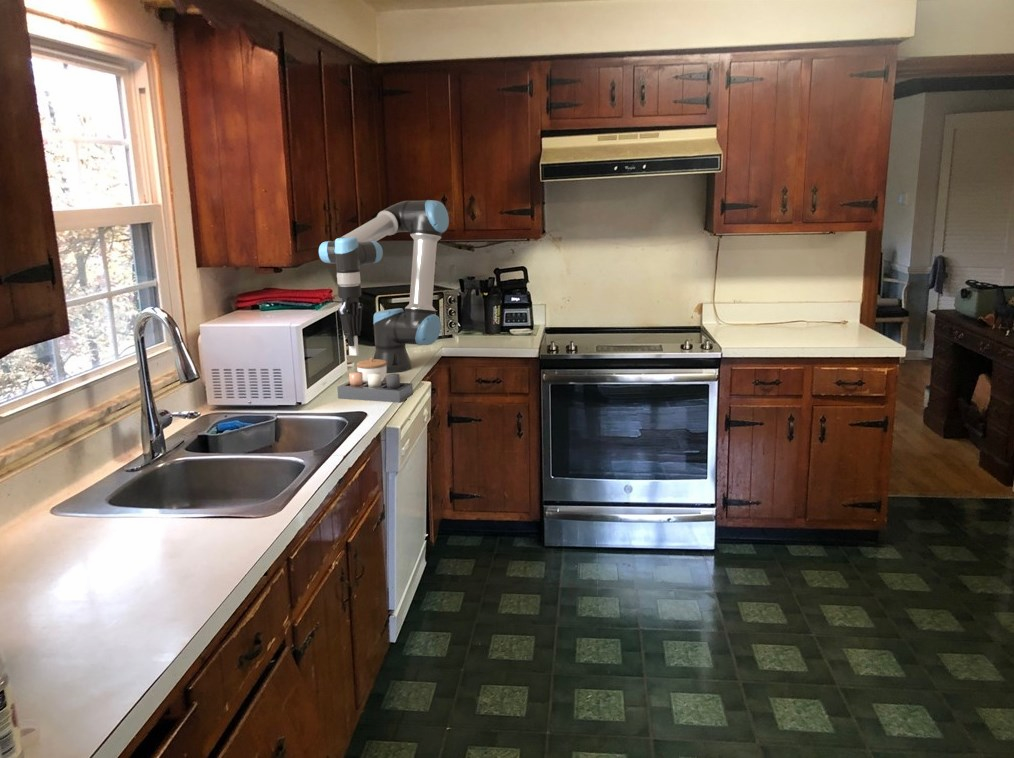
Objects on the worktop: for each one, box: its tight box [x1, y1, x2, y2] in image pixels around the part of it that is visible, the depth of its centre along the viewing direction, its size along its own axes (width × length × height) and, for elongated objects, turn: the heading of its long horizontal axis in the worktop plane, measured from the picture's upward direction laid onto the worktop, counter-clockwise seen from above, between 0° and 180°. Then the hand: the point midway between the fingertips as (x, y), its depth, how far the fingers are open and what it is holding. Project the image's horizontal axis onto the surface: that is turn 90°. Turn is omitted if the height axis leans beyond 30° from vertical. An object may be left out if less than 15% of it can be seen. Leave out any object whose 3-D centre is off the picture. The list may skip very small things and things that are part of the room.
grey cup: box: [385, 373, 401, 389], centre depth 265 cm, size 4×4×5 cm
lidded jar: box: [356, 357, 387, 382], centre depth 286 cm, size 11×11×9 cm
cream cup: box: [368, 373, 382, 388], centre depth 267 cm, size 4×4×5 cm
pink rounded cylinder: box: [348, 371, 363, 387], centre depth 269 cm, size 4×4×5 cm
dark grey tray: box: [336, 380, 414, 403], centre depth 268 cm, size 10×23×4 cm, turn 71°
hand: (354, 354), depth 267 cm, fingers closed
